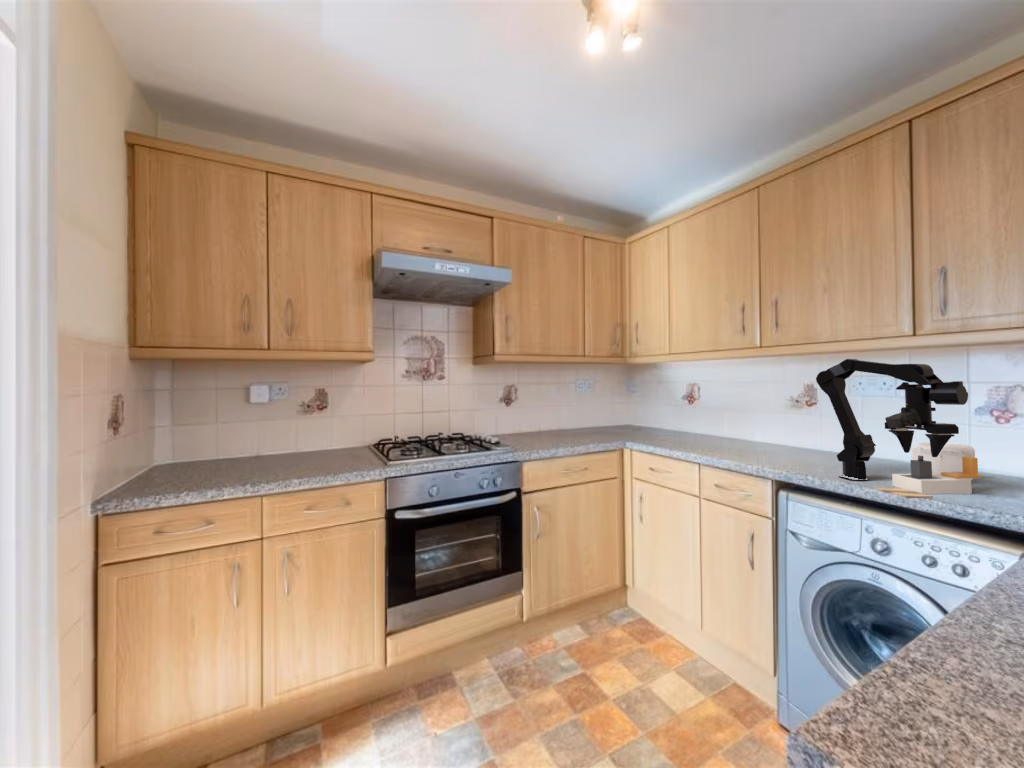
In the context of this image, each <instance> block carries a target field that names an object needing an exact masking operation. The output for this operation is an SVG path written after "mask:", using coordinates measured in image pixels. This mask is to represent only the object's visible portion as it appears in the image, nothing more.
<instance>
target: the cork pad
mask: <svg viewBox="0 0 1024 768" xmlns="http://www.w3.org/2000/svg"><path fill="white" fill-rule="evenodd" d="M875 490H877V491H881V492H885V493H887V494H891V495H894V496H900V497H902V498H905V499H929V498H930V499H933V495H932V494H923V493H919V492H915V491H911V490H907V489H903V488H899V487H893V486H892V487H875Z"/></svg>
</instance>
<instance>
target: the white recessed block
mask: <svg viewBox="0 0 1024 768" xmlns="http://www.w3.org/2000/svg"><path fill="white" fill-rule="evenodd" d="M901 475H911V473H892V477H891V478H892V487H893V486H895V487H899V488H903V489H907V490H911V491H915V492H919V493H923V494H927V495H972V494H973V491H972V490H973V488H972V480H968V479H963V478H954V477H949V476H944V475H941V474H932V477H936V478H941V479H915V478H910V477H906V476H901Z"/></svg>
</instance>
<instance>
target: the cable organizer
mask: <svg viewBox="0 0 1024 768" xmlns="http://www.w3.org/2000/svg"><path fill="white" fill-rule="evenodd" d="M910 451H911V452H910V453H911V460H918V456H923V460H926V461H931V463H932V474H941V472H963V467H962V457H973V458H976V452H975V448H974V447H973V446H970V445H967V444H954V443H946V444H945V446H944V447H943V449H942V450H941V452H940V453H939V455H938V456H937V457H932V454H931V447H930V442H920V443H918V444H917V445H914V446H911V448H910ZM963 479H968V480H971V481H973V480H975V478H963Z"/></svg>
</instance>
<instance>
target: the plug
mask: <svg viewBox="0 0 1024 768" xmlns="http://www.w3.org/2000/svg"><path fill="white" fill-rule="evenodd" d="M910 474H911V475H901V476H906V477H910V478H915V479H941V478H936V477H932V463H931V461H926V460H923V456H918V460H912V459H910Z"/></svg>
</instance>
